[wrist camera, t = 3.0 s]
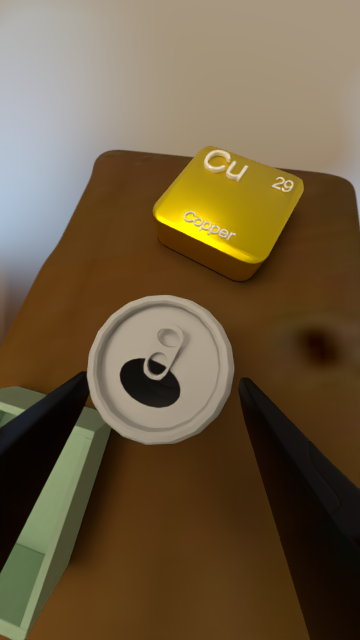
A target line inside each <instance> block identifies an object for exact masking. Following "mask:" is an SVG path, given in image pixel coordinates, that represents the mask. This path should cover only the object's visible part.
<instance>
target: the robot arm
mask: <svg viewBox="0 0 360 640" xmlns="http://www.w3.org/2000/svg"><path fill="white" fill-rule="evenodd" d="M238 390H239V396H240V401H241V406H242V411H243V416H244V420H245V424H246V427H247V430H248V434H249V437H250V440H251V444H252V447H253V450H254V454H255V457H256V460H257V463H258V467H259V470H260V473H261V477H262V480H263V483H264V487H265V490H266V493H267V497H268V500H269V503H270V507H271V510H272V513H273V517H274V520H275V523H276V527H277V530H278V533H279V536H280V540H281V544H282V547H283V550H284V553H285V557H286V560H287V563H288V567H289V570H290V573H291V577H292V580H293V583H294V587H295V590H296V593H297V597H298V600H299V603H300V607H301V610H302V613H303V617H304V620H305V623H306V627H307V630H308V633H309V637H310V640H360V489H359V488H358V487H357V486H356V485H355V484H354V483H352V482H351V481H350V480H349V479H348V478H347V477H346V476H345V475H344V474H343V473H342V472H341V471H340V470H339V469H338V468H337V467H335V466H334V465H333V464H332V463H331V462H330V461H329V460H328V459H327V458H326V457H325V456H324V455H323V454H322V453H321V452H320V451H319V450H318V449H317V448H316V447H315V446H314V444H313V443H312V442H311V441H309V440H308V438H307V437H306V436H305V435H304V434H303V433H302V432H301V431H300V430H299V429H298V428H297V427H296V426H295V425H294V424H293V423H292V422H291V421H290V420H289V419H288V418H287V417H286V416H285V415H284V414H283V413H282V411H281V410H280V409H279V408H278V407H277V406H276V405H275V404H274V403H273V402H272V401H271V400H270V399H269V398H268V397H267V396H266V395H265V394H264V393H263V392H262V391H261V390H260V389H259V388H258V387H257V386H256V385H255V384H254V383H253V381H252V380H251V379H249V378H241V380H240V383H239V387H238ZM89 393H90V390H89V385H88V380H87V371H82V372H80V373H79V374H77V375H76V376H74V377H73V378H71V379H70V380H68V381H67V382H66V383H64V384H63V385H61V386H60V387H58V388H57V389H55V390H54V391H52V392H51V393H50V394H48V395H47V396H45V397H44V398H42V399H41V400H39V401H38V402H37V403H35V404H34V405H32V406H31V407H29V408H28V409H26V410H25V411H24V412H22V413H21V414H19V415H18V416H16V417H15V418H13V419H12V420H10V421H9V422H8V423H6V424H5V425H3V426H2V427H0V573H1V571H2V569H3V567H4V565H5V564H6V562H7V560H8V558H9V556H10V554H11V552H12V550H13V548H14V546H15V544H16V542H17V540H18V538H19V536H20V534H21V532H22V530H23V528H24V526H25V524H26V522H27V519H28V518H29V516H30V514H31V512H32V510H33V508H34V506H35V504H36V502H37V500H38V498H39V496H40V494H41V492H42V490H43V488H44V486H45V484H46V482H47V480H48V478H49V476H50V474H51V472H52V470H53V468H54V466H55V464H56V462H57V460H58V458H59V456H60V454H61V452H62V450H63V448H64V446H65V444H66V442H67V440H68V438H69V436H70V434H71V432H72V430H73V429H74V427H75V425H76V423H77V421H78V419H79V417H80V415H81V413H82V410H83V408H84V406H85V403H86V401H87V398H88V396H89Z"/></svg>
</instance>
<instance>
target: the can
mask: <svg viewBox="0 0 360 640" xmlns="http://www.w3.org/2000/svg"><path fill="white" fill-rule="evenodd" d="M233 375H234V362H233V354H232V347H231V344H230V342H229V340H228V338H227V336H226V333H225V331H224V329H223V327H222V326H221V324H220V323H219V322H218V321H217V320H216V319H215V318H214V317H213V316H212V314H211V313H210V312H209V311H208V310H206V309H204V308H203V307H201V306H199V305H198V304H196V303H194V302H193V301H191V300H187V299H183V298H179V297H175V296H169V295H161V296H147V297H144V298H141V299H138V300H135V301H133V302H130V303H128V304H126V305H125V306H124V307H122V308H121V309H119V310H118V311H117V312H115V313H114V314H112V315H111V316H110V318H109V319H108V320H107V321H106V323H105V324H104V325H103V326H102V328H101V329H100V330H99V331H98V333H97V336H96V338H95V340H94V343H93V345H92V347H91V350H90V352H89V360H88V369H87V380H88V385H89V390H90V395H91V400H92V401H93V403H94V405H95V407H96V408H97V410H98V412H99V413H100V415H101V417H102V419H103V420H104V421H105V422H106V423H107V424H108V425H109V426H111V427H112V428H113V429H114V430H115V431H117V432H118V433H119V434H120V435H121V436H123V437H126V438H128V439H131V440H134V441H137V442H140V443H143V444H146V445H148V444H171V443H178V442H180V441H182V440H185V439H187V438H189V437H192V436H194V435H196V434H199V433H200V432H201V431H202V430H204V429H205V428H206V427H207V426H208V425H209V424H210V423H211V422H212V421H213V420H214V419H215V418H216V417H217V416H218V415H219V414H220V412H221V410H222V408H223V406H224V404H225V402H226V400H227V399H228V397H229V395H230V392H231V386H232V381H233Z"/></svg>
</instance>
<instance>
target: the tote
mask: <svg viewBox="0 0 360 640" xmlns="http://www.w3.org/2000/svg"><path fill="white" fill-rule="evenodd" d="M45 396H47V395H45V394H42V393H39V392H35V391H32V390H29V389H25V388H22V387H19V386H14V387H8V388H1V389H0V427H2V426H3V425H5V424H6V423H8V422H9V421H10V420H12V419H13V418H15V417H16V416H18V415H19V414H21V413H22V412H24V411H25V410H26V409H28V408H29V407H31V406H32V405H34V404H35V403H37V402H38V401H39V400H41V399H42V398H44V397H45ZM111 428H112V427H111V426H109V425H108V424H107V423H106V422H105V421H104V420H103V419H102V417H101V415H100V413H99V412H98V410H95V409H92V408H88V407H85V406H84V408H83V410H82V413H81V415H80V417H79V419H78V421H77V423H76V425H75V427H74V429H73V430H72V432H71V434H70V436H69V438H68V440H67V442H66V444H65V446H64V448H63V450H62V452H61V454H60V456H59V458H58V460H57V462H56V464H55V466H54V468H53V470H52V472H51V474H50V476H49V478H48V480H47V482H46V484H45V486H44V488H43V490H42V492H41V494H40V496H39V498H38V500H37V502H36V504H35V506H34V508H33V510H32V512H31V514H30V516H29V518H28V519H27V522H26V524H25V526H24V528H23V530H22V532H21V534H20V536H19V538H18V540H17V542H16V544H15V546H14V548H13V550H12V552H11V554H10V556H9V558H8V560H7V562H6V564H5V565H4V567H3V569H2V571H1V573H0V634H1V635H3V636H6V637H8V638H10V639H12V640H26V638H27V636H28V634H29V633H30V631H31V629H32V627H33V626H34V624H35V622H36V620H37V618H38V617H39V615H40V613H41V611H42V610H43V608H44V606H45V604H46V603H47V601H48V599H49V597H50V596H51V594H52V592H53V590H54V589H55V587H56V585H57V583H58V582H59V580H60V578H61V576H62V574H63V573H64V571H65V569H66V568H67V566H68V563H69V560H70V557H71V554H72V551H73V548H74V544H75V541H76V538H77V535H78V532H79V529H80V526H81V522H82V519H83V516H84V513H85V510H86V507H87V504H88V500H89V497H90V494H91V491H92V488H93V485H94V482H95V478H96V475H97V472H98V469H99V466H100V463H101V460H102V456H103V453H104V450H105V447H106V444H107V441H108V438H109V434H110V431H111Z"/></svg>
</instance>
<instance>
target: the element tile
mask: <svg viewBox="0 0 360 640" xmlns="http://www.w3.org/2000/svg"><path fill="white" fill-rule="evenodd" d="M303 190H304V186H303V181H302V180H301V179H300V178H298V177H296V176H294V175H292V174H289V173H286V172H283V171H281V170H278V169H275V168H272V167H270V166H267V165H264V164H261V163H259V162H256V161H253V160H250V159H248V158H245V157H242V156H239V155H237V154H234V153H231V152H228V151H226V150H223V149H220V148H217V147H213V146H207V147H205V148H203V149H202V150H201V151H199V152H198V154H197V155H196V156H195V157H194V158H193V159H192V161H191V162H190V163H189V164H188V165H187V166H186V168H185V169H184V170H183V171H182V172H181V174H180V175H179V176H178V177H177V178H176V180H175V181H174V182H173V183H172V184H171V186H170V187H169V188H168V189H167V190H166V191H165V193H164V194H163V195H162V196H161V197H160V199H159V200H158V201H157V202H156V204H155V205H154V208H153V217H154V222H155V227H156V231H157V236H158V239H159V241H160V242H161V243H162V244H163V245H165V246H167V247H169V248H171V249H173V250H175V251H177V252H178V253H180V254H182V255H184V256H186V257H188V258H190V259H192V260H194V261H196V262H198V263H200V264H202V265H204V266H206V267H208V268H210V269H212V270H214V271H216V272H218V273H220V274H222V275H224V276H226V277H228V278H230V279H232V280H235V281H245V280H248V279H249V278H250V277H252V275H253V274H254V273H255V272H256V271H257V269H258V268H259V267H260V266H261V264H262V263H263V262H264V261H265V259H266V258H267V257H268V255H269V254H270V252H271V250H272V248H273V246H274V244H275V243H276V241H277V239H278V237H279V235H280V233H281V232H282V230H283V228H284V226H285V224H286V222H287V220H288V219H289V217H290V215H291V213H292V211H293V209H294V208H295V206H296V204H297V202H298V200H299V198H300V197H301V195H302V193H303Z"/></svg>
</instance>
